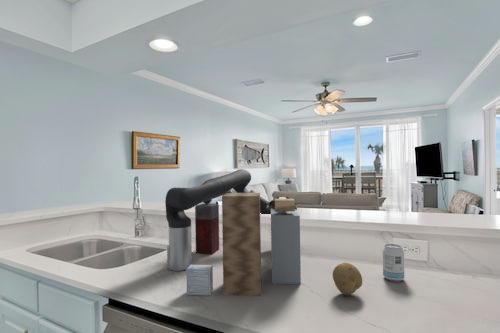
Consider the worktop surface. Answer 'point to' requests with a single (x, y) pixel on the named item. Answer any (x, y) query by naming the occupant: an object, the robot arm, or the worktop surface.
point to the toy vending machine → (207, 227)
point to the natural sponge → (347, 278)
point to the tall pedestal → (241, 244)
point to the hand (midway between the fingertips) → (282, 198)
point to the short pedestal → (285, 247)
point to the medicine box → (199, 279)
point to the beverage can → (393, 262)
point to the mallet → (284, 204)
